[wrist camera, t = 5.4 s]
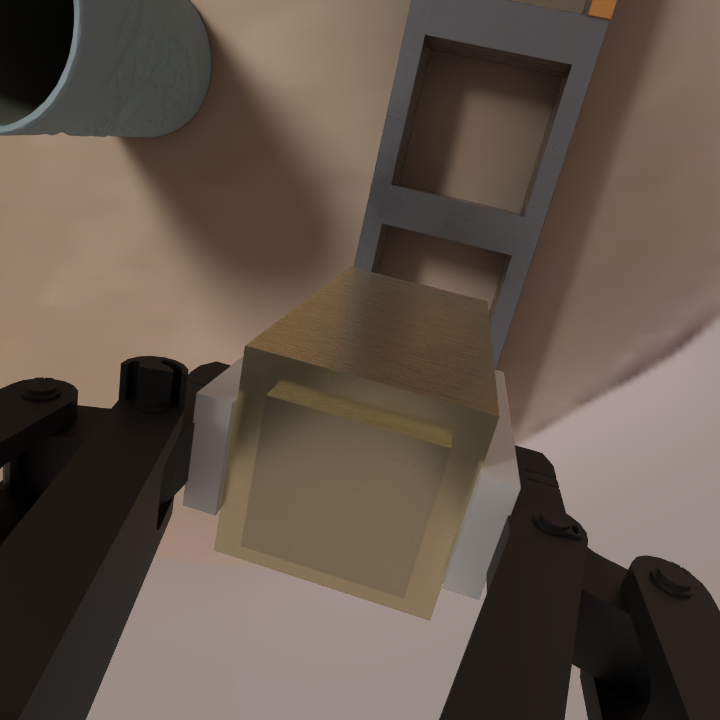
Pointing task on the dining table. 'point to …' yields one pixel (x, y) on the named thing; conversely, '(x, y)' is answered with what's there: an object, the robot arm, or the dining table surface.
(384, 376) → the beige recessed-panel block
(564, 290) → the dining table surface
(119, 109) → the grey-green cup
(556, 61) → the grey compartment tray
